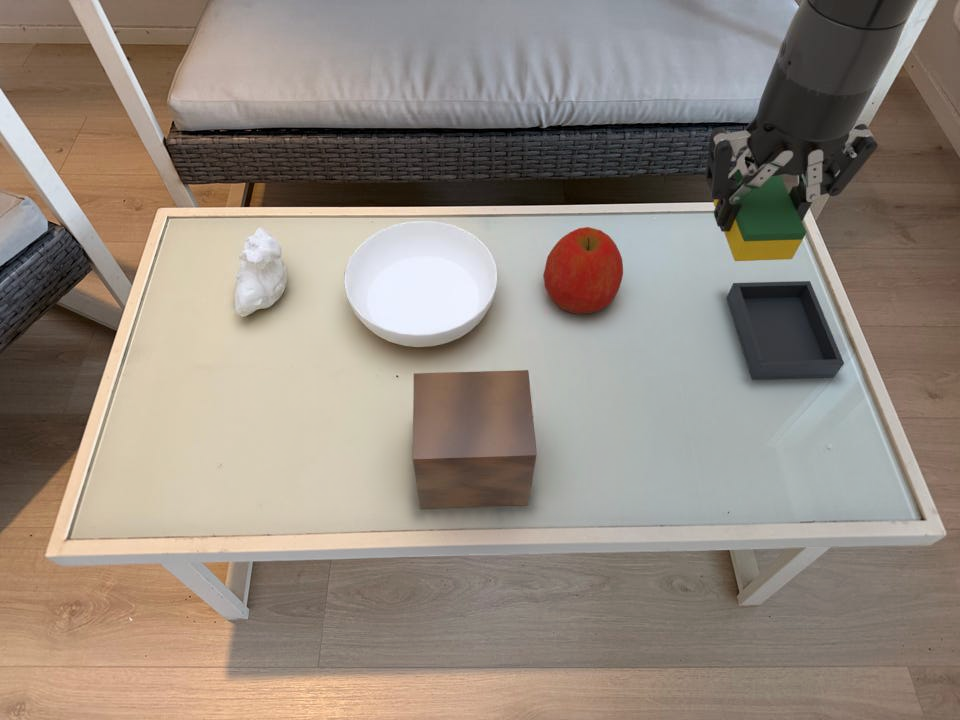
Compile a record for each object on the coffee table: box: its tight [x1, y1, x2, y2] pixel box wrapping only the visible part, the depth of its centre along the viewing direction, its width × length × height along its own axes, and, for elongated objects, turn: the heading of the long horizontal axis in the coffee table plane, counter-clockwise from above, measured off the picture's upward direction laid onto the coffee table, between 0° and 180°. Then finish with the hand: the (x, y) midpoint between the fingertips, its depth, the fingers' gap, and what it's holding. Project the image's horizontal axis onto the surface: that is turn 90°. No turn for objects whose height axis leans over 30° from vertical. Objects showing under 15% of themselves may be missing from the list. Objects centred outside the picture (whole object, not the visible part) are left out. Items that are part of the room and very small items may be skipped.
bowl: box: [343, 220, 499, 348], centre depth 91 cm, size 20×20×6 cm
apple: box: [542, 226, 624, 315], centre depth 91 cm, size 10×10×10 cm
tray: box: [726, 280, 845, 381], centre depth 90 cm, size 13×10×3 cm
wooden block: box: [412, 369, 538, 510], centre depth 75 cm, size 12×10×12 cm
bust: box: [234, 227, 288, 318], centre depth 91 cm, size 12×8×11 cm
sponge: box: [713, 175, 807, 262], centre depth 66 cm, size 8×6×4 cm
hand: (754, 224), depth 67 cm, fingers closed on sponge, 5 cm apart
